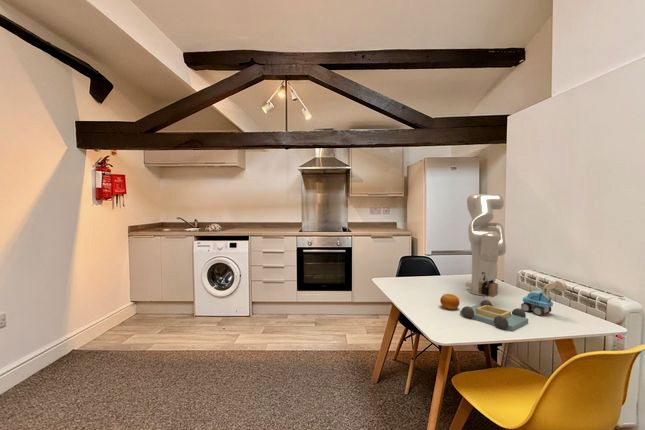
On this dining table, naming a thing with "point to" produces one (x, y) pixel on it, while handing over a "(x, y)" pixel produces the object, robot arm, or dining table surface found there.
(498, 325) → the chassis
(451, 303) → the fruit
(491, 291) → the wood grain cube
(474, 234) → the robot arm
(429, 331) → the dining table surface
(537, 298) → the toy excavator
